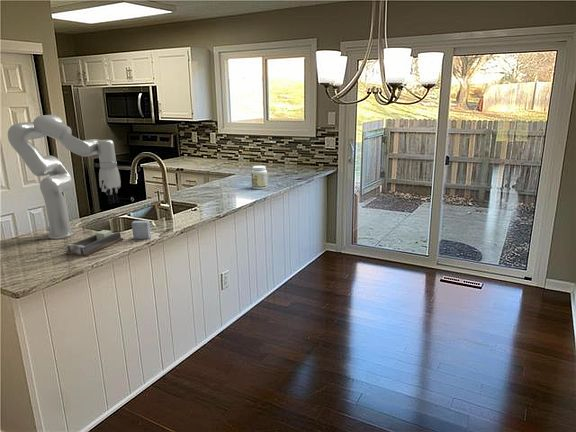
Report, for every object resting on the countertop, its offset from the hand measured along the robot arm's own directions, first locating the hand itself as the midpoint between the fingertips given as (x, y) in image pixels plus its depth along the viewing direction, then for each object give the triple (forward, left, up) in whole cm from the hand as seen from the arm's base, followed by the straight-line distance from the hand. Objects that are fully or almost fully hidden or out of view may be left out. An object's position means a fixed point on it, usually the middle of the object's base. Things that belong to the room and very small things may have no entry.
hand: (113, 201), depth 211 cm
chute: (0, -15, -19) cm, 24 cm away
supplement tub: (+22, +132, -19) cm, 135 cm away
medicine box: (+13, +3, -19) cm, 24 cm away
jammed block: (0, -9, -18) cm, 20 cm away
